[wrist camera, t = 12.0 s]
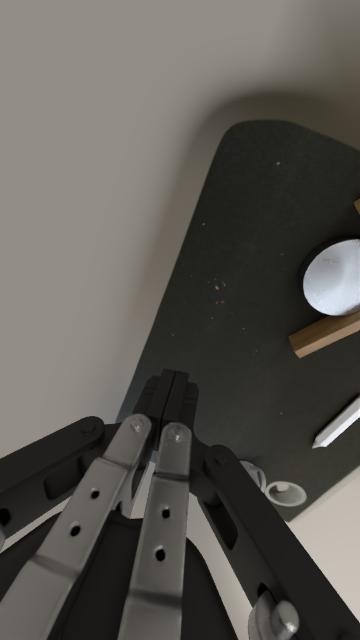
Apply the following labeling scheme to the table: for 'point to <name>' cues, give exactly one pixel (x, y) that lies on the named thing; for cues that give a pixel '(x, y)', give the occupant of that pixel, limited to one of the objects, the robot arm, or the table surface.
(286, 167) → the table surface
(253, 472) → the cup
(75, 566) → the robot arm
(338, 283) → the white-topped round disc
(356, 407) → the white pencil
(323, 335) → the corner fence
